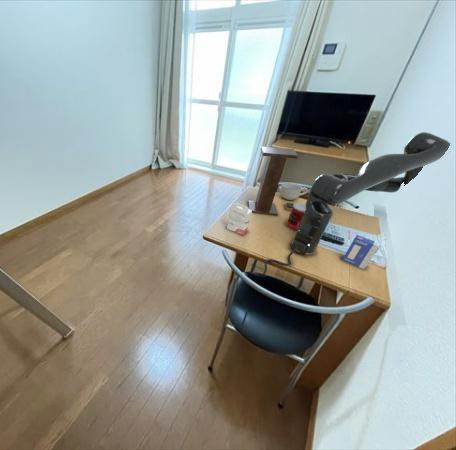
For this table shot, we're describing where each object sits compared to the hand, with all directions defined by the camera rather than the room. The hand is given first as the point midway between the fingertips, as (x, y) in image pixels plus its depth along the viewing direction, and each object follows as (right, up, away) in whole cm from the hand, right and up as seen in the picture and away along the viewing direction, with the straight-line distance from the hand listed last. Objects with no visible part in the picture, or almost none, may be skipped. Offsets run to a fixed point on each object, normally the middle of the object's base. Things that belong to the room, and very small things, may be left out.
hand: (335, 179), depth 123 cm
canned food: (-21, -23, -1) cm, 31 cm away
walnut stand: (-31, -13, +13) cm, 37 cm away
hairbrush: (-8, -14, +12) cm, 21 cm away
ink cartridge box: (-51, -25, -4) cm, 57 cm away
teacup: (-10, -7, +24) cm, 26 cm away
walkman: (-9, -38, -22) cm, 45 cm away
